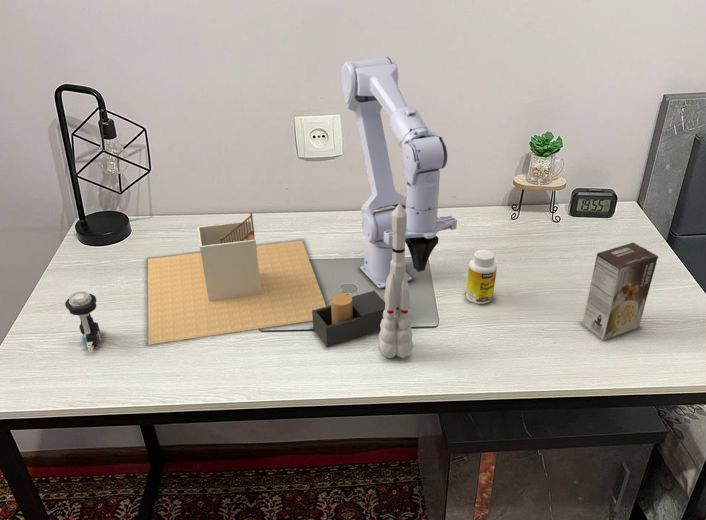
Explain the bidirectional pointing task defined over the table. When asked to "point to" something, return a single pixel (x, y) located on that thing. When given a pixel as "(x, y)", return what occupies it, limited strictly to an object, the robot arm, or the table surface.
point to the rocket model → (397, 296)
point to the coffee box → (619, 290)
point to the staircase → (230, 286)
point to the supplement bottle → (481, 277)
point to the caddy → (362, 324)
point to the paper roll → (341, 308)
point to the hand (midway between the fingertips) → (418, 268)
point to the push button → (85, 316)
